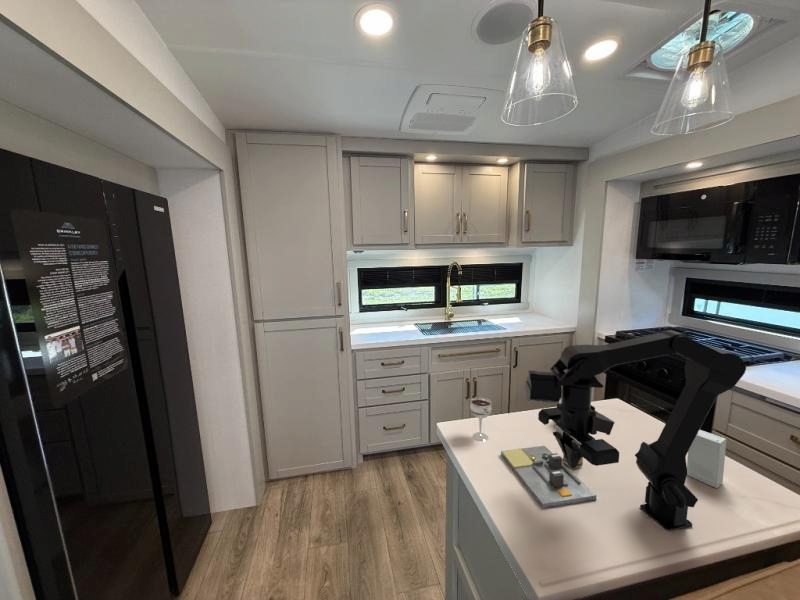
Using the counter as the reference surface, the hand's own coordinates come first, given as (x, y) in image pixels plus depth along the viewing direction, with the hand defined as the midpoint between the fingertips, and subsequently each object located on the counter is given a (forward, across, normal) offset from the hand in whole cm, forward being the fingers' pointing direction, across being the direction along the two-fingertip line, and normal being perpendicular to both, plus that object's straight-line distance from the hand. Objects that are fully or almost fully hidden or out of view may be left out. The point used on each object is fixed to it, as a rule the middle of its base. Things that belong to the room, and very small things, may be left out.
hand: (572, 467), depth 71 cm
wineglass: (+10, +30, +9) cm, 33 cm away
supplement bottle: (+10, +13, -11) cm, 19 cm away
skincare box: (+10, +1, -39) cm, 40 cm away
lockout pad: (+8, +16, +4) cm, 18 cm away
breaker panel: (+9, +10, 0) cm, 14 cm away
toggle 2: (+8, +5, 0) cm, 10 cm away
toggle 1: (+8, +11, -4) cm, 14 cm away
